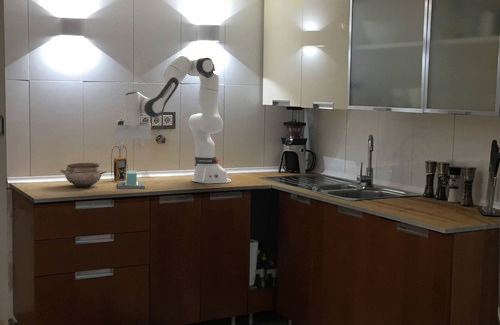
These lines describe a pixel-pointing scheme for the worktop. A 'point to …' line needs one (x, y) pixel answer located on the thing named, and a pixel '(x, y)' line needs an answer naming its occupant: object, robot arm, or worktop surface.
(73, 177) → the cooking pot
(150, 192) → the worktop surface
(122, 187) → the header board
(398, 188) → the worktop surface
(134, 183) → the block
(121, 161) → the multimeter
